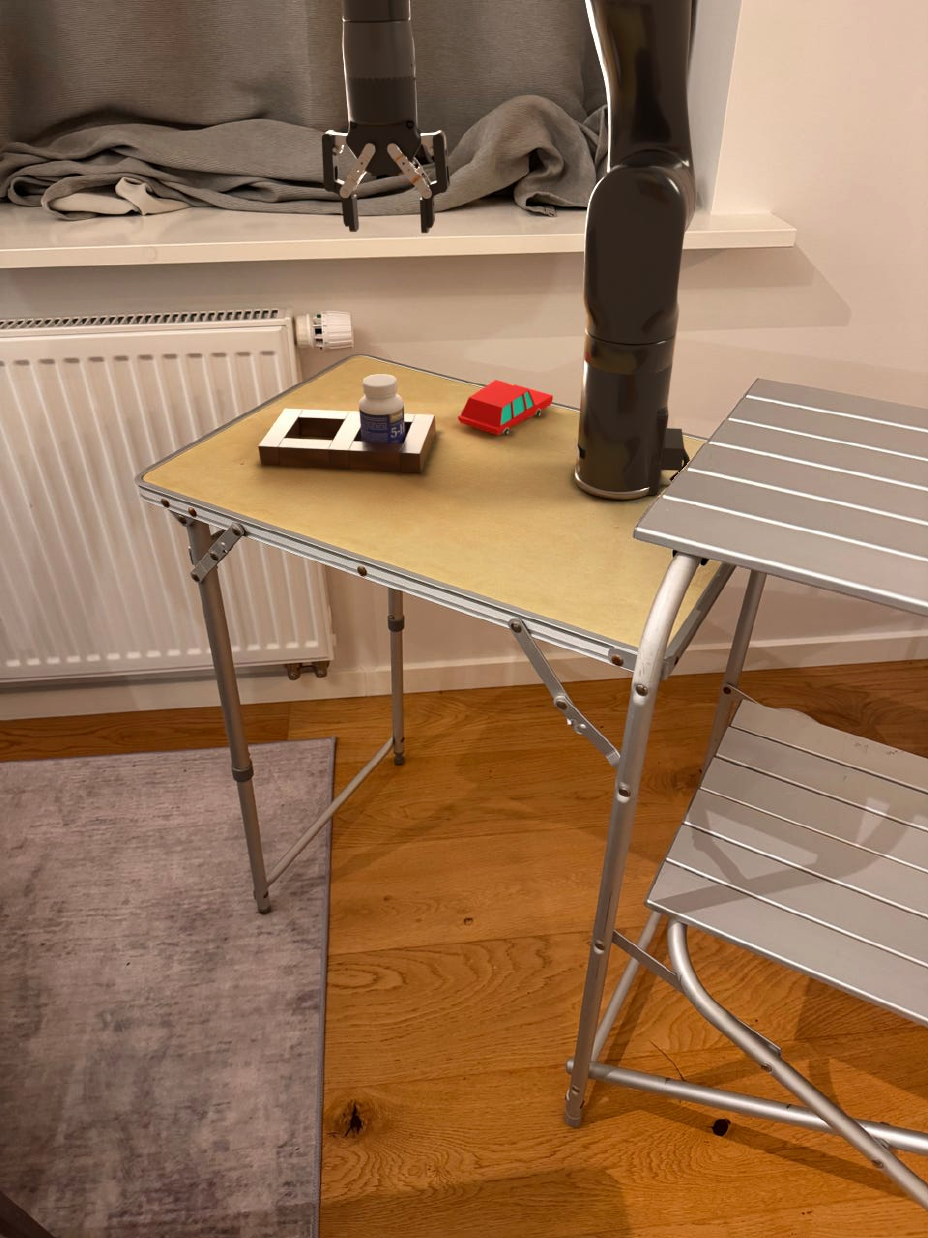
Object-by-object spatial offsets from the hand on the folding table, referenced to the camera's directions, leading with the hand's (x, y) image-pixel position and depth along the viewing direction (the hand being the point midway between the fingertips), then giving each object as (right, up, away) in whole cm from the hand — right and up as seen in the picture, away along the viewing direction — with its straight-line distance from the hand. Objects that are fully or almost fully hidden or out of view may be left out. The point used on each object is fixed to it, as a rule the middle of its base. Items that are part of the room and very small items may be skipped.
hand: (390, 231), depth 106 cm
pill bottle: (-1, -25, +3) cm, 26 cm away
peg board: (-5, -25, +4) cm, 26 cm away
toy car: (+14, -20, +11) cm, 27 cm away
